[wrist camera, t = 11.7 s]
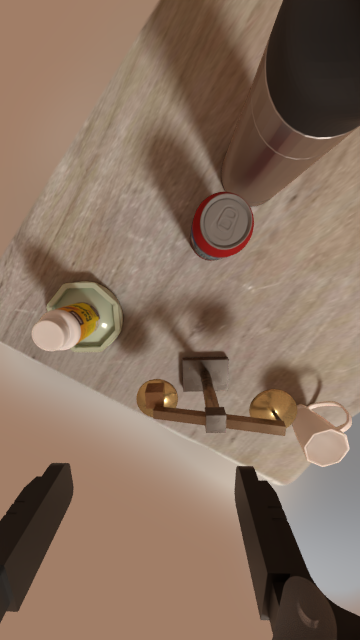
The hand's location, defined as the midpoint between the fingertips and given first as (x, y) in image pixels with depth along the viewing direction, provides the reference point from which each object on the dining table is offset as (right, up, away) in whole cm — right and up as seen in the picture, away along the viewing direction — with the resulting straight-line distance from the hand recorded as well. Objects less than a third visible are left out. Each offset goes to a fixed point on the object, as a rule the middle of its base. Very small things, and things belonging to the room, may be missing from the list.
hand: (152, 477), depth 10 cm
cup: (+25, -9, +30) cm, 40 cm away
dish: (-14, +8, +26) cm, 31 cm away
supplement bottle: (-15, +8, +26) cm, 31 cm away
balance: (+6, -2, +29) cm, 29 cm away
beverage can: (+6, +20, +24) cm, 32 cm away
